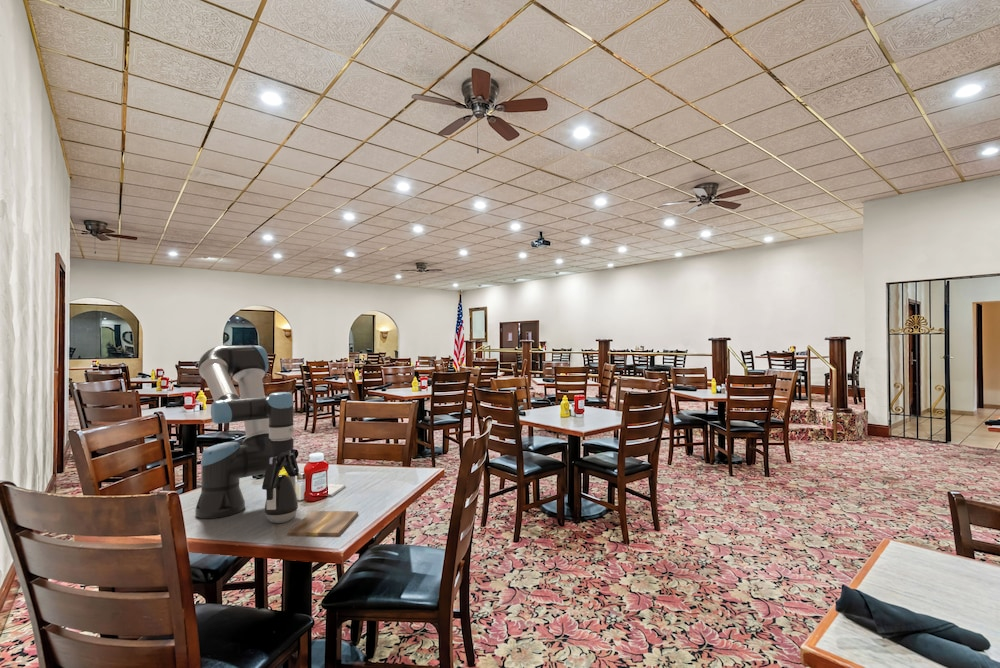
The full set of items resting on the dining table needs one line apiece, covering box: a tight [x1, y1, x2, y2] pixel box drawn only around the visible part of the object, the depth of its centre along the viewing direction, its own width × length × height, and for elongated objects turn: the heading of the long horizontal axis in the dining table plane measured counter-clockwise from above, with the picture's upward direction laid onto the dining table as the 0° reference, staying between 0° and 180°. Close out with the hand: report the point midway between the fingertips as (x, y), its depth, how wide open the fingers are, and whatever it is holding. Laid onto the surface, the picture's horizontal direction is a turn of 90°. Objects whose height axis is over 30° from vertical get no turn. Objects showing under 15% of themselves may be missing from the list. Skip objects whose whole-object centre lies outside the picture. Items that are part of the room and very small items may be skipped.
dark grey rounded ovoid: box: [264, 474, 299, 524], centre depth 159 cm, size 10×10×15 cm
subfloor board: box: [287, 510, 359, 537], centre depth 156 cm, size 16×18×1 cm
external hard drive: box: [327, 483, 346, 498], centre depth 189 cm, size 2×8×12 cm
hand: (281, 502), depth 159 cm, fingers open, 13 cm apart
